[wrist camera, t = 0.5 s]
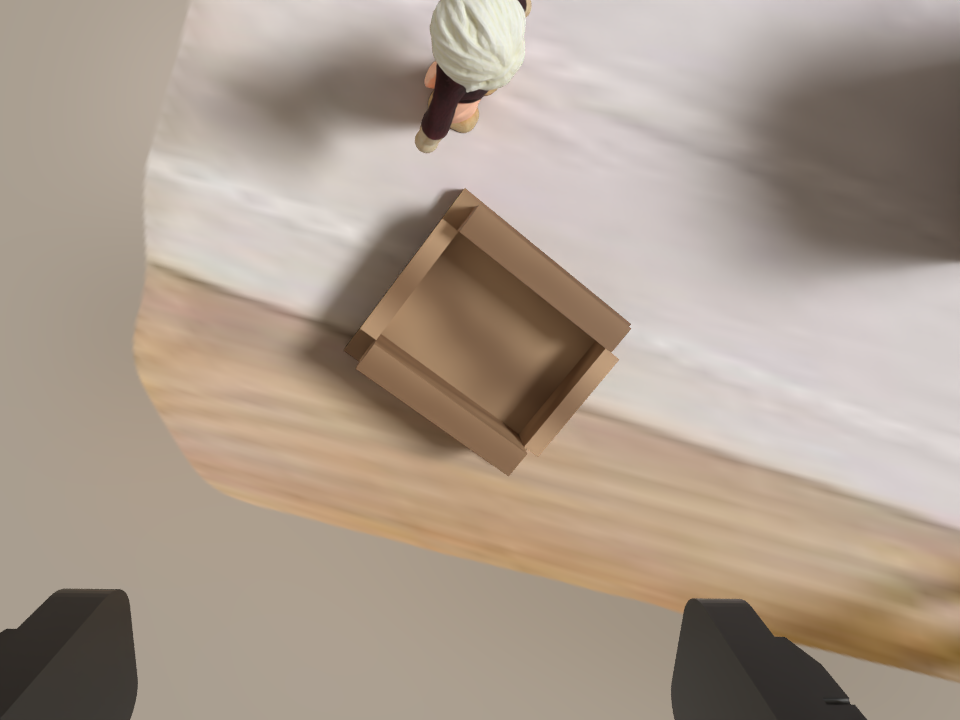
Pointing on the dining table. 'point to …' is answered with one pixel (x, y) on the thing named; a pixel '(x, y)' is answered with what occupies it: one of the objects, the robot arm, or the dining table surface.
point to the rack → (488, 337)
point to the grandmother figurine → (469, 61)
